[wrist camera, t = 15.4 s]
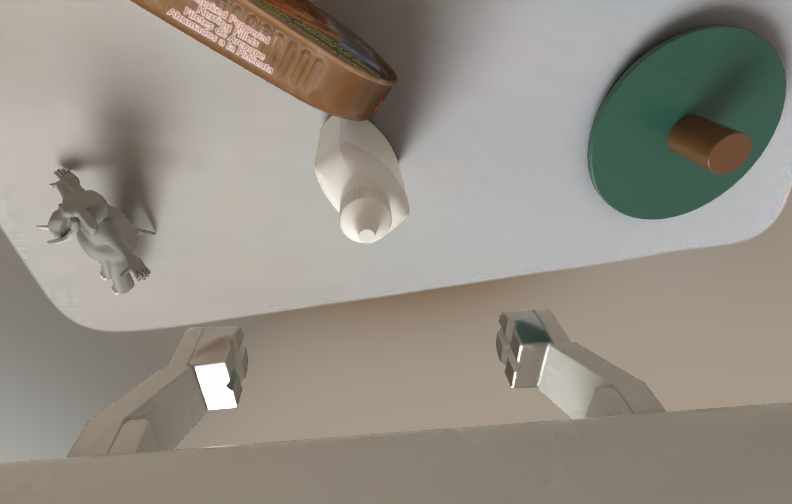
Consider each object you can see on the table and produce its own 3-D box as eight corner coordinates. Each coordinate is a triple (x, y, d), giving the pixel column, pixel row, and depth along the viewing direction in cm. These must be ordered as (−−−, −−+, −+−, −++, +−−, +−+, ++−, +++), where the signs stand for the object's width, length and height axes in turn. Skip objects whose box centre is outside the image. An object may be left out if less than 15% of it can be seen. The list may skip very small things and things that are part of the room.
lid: (612, 23, 26) (665, 31, 22) (808, 25, 27) (896, 33, 23) (564, 215, 33) (598, 250, 29) (722, 210, 34) (778, 243, 30)
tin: (394, 60, 26) (411, 89, 19) (367, 105, 27) (373, 149, 20) (132, -120, 21) (20, -174, 14) (114, -53, 22) (3, -70, 15)
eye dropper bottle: (382, 96, 27) (402, 164, 17) (401, 177, 30) (427, 276, 20) (315, 113, 27) (296, 190, 17) (340, 192, 30) (337, 297, 20)
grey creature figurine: (37, 250, 31) (-12, 154, 24) (125, 217, 34) (103, 126, 28) (112, 354, 28) (80, 280, 21) (197, 307, 32) (193, 231, 25)
